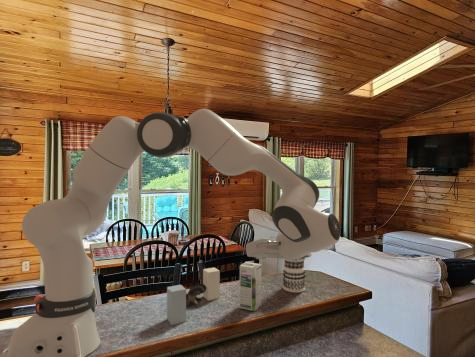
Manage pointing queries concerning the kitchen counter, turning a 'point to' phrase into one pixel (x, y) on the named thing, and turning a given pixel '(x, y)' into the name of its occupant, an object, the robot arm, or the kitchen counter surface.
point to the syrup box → (250, 286)
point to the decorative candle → (294, 275)
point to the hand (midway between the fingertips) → (258, 256)
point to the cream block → (211, 283)
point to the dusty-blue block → (176, 304)
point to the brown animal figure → (195, 293)
